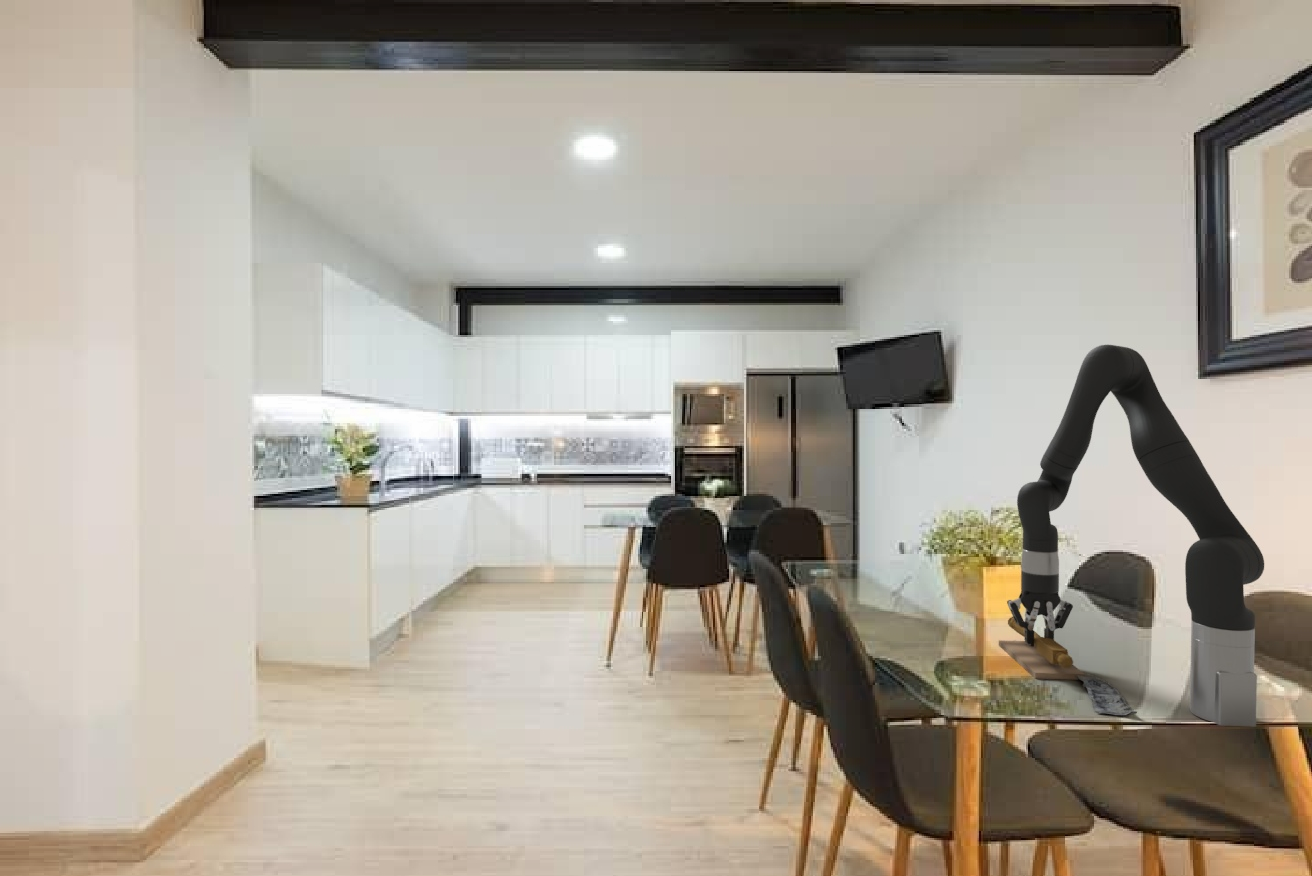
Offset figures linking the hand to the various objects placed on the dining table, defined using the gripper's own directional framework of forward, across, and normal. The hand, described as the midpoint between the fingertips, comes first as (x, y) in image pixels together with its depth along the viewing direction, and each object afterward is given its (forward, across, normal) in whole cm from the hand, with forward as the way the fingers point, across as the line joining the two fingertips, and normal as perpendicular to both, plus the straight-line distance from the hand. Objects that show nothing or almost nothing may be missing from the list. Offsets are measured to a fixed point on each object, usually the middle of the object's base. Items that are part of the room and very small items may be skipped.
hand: (1039, 645), depth 164 cm
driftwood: (+4, +4, -20) cm, 21 cm away
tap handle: (+1, 0, 0) cm, 1 cm away
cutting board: (+4, 0, 0) cm, 4 cm away
